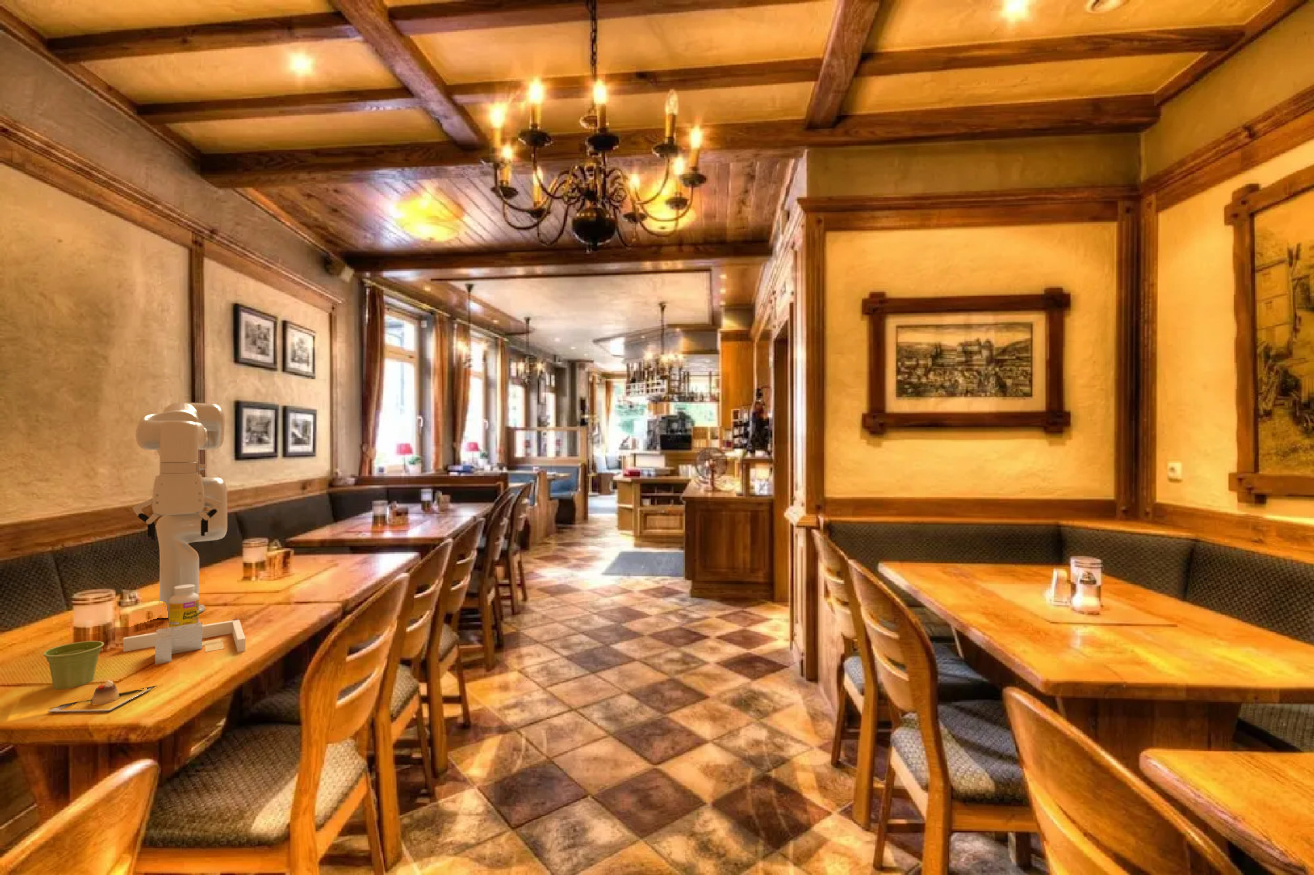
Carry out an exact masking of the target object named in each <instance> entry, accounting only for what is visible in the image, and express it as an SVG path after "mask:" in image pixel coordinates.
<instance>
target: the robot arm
mask: <svg viewBox="0 0 1314 875" xmlns="http://www.w3.org/2000/svg"><path fill="white" fill-rule="evenodd" d="M225 418H226V417H225V413H224V411H223V409H222V408H221V407H220V406H219V405H218V404H216V403H209V402H208V403H205V402H204V403H202V402H175V403H171V404H169V405H167V406H166V407H165V408H164V409H163V410H162V412H158V413H153V414H152V413H151V414H147V415H145V416H143V417H141V418H140V420H139V421H138V424H137V427H136V430H135V440H136V443H137V446H138V447H139V448H141V449H144V450H146V451H147V450H149V451H154V450H155V451H156V452H157V454H158V455H159V475H155V477H154V479H153V480H154V481H153V488H152V498H150V499H147V500H144V501H142V502H141V503H139V504H136V505H134V506H132V511H133V512H134V513H135V515H136V516H137V517H138V518H139V519H140V520H142V521H143V522H144V523H146V524H147V538H150V539H151V540H150V541H154V540H156V536H157V540H158V547H159V549H158V550H159V602H160V601H163V602H165V603H166V605H167V611H168V619H167V620H169V600H170V598H171V597H172V596H174V595H175V593H174V587H176V586H180V585H187V584H193V585H195V590H194V593H196V594H198V595H199V596H200V556H199V553H198V551H196V549H194V547H192V546H191V545H190V544H191V543H195V542H196V543H197V542H210V541H218V540H221V539H223V538H225V536H226V535H227V532H228V490H227V489H228V488H227V484H226V482H225V481H224V479H223V478H220V477H216V476H205V477H203V476H202V474H199V472H200V471H205V470H206V464H202V463H199V450H202V451H203V450H207V451H208V450H210V451H211V450H216V449H219V448H220V447H221V446H222V445H223V442H224V439H225V427H226V421H225V420H226V419H225ZM148 506H151V509H152V514H151V515H150V516H149V515H147V514H145V512H143V510H142V509H144V508H146V507H148ZM205 508H208V509H210V510H205ZM159 517H160V518H159ZM157 519H158V520H157ZM156 520H157V521H156ZM155 521H156V523H155ZM205 610H206V607H205V605H204V604H202V603H201V604H200V603H199V614H201V613H202V612H204V611H205Z"/></svg>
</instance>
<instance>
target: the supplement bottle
mask: <svg viewBox="0 0 1314 875" xmlns="http://www.w3.org/2000/svg"><path fill="white" fill-rule="evenodd" d="M194 590H195V585H193V584H187V585H180V586H176V587H174V593H175V595H174V596H172V597H171V598H170V600H169V619H168V628H170V627H176V626H183V625H189V624H195V623H200V620H199V619H200V617H199V616H200V613H199V604H200V594H199V595H198V594H196V593H194Z"/></svg>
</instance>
